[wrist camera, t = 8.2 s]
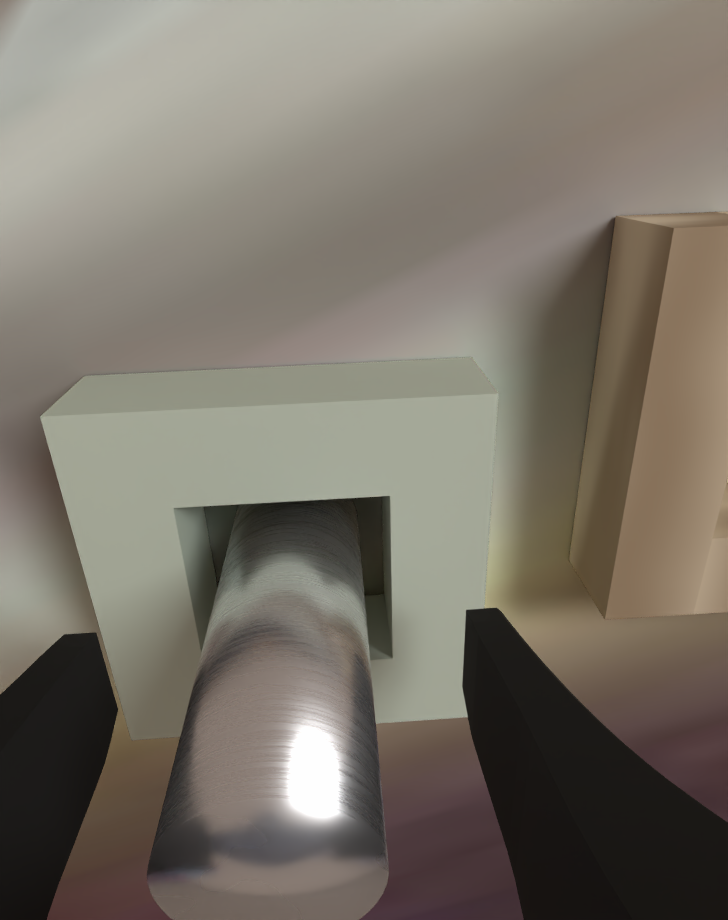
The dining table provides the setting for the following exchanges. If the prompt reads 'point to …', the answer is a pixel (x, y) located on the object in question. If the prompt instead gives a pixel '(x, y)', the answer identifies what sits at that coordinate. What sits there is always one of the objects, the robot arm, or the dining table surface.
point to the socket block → (659, 424)
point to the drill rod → (279, 734)
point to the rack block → (278, 480)
